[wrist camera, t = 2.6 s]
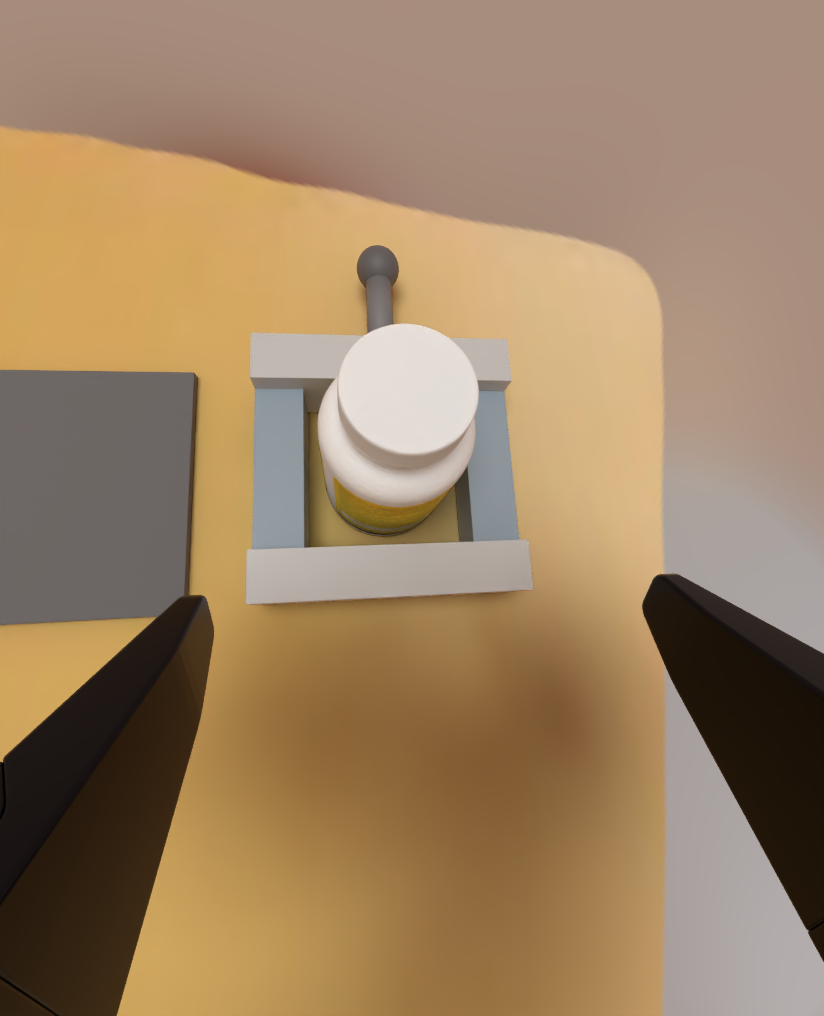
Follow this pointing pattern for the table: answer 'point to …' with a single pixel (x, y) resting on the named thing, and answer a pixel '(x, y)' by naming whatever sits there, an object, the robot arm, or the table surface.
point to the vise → (285, 477)
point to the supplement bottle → (397, 427)
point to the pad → (94, 493)
